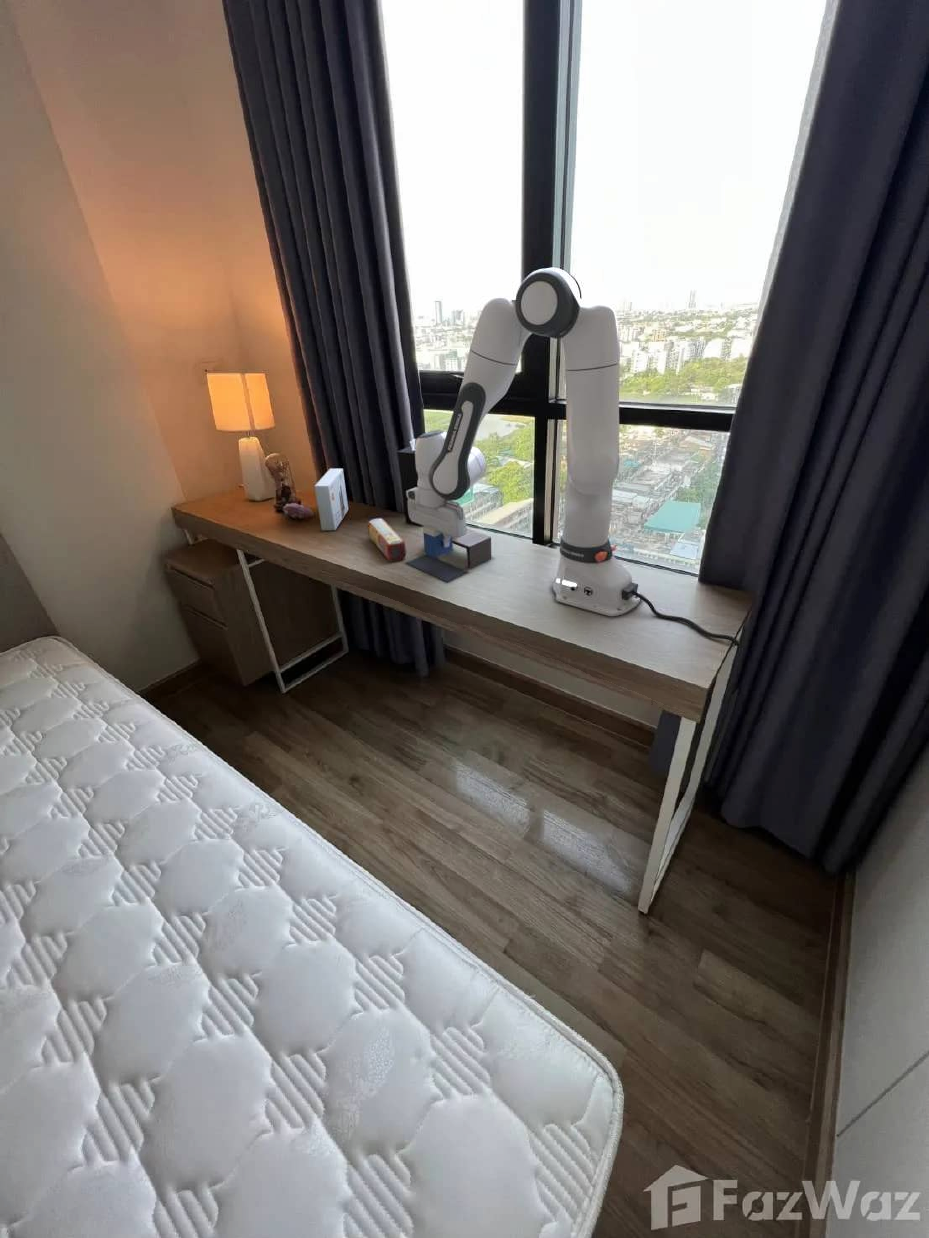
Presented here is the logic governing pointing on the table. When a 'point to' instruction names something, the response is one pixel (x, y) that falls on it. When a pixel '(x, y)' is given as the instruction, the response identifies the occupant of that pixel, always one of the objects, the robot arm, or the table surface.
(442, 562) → the felt pad
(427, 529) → the dark blue box
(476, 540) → the desk shelf
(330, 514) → the skincare box
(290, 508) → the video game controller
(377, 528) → the snack package
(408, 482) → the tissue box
